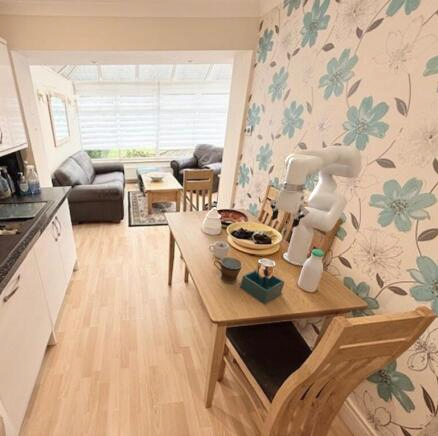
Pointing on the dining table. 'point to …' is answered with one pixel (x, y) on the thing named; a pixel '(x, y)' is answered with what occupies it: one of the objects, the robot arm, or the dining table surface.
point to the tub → (257, 290)
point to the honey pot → (212, 222)
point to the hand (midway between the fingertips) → (284, 222)
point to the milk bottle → (311, 271)
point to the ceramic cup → (229, 269)
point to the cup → (219, 249)
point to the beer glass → (264, 272)
